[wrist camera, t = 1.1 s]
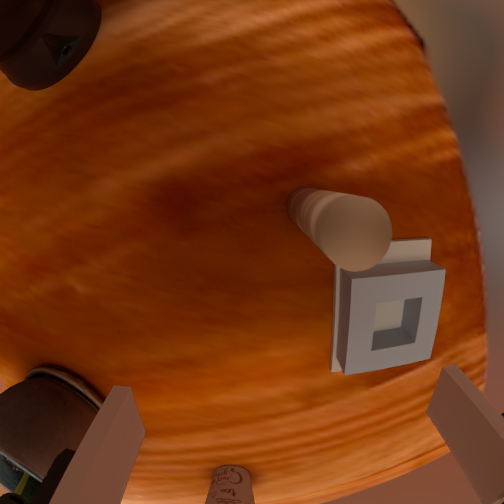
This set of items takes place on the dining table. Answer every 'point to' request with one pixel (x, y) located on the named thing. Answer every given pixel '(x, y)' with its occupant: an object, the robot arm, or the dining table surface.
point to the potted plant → (41, 425)
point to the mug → (230, 486)
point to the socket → (387, 310)
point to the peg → (342, 226)
